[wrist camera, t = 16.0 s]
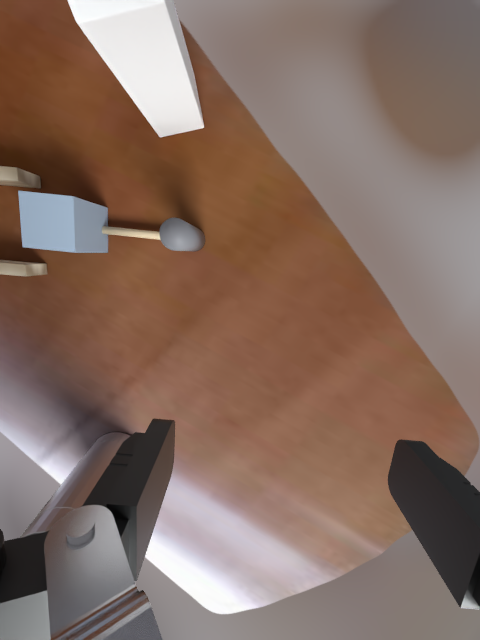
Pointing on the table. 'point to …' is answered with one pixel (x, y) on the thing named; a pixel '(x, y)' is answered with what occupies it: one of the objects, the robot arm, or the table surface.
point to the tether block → (89, 226)
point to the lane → (21, 179)
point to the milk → (145, 58)
